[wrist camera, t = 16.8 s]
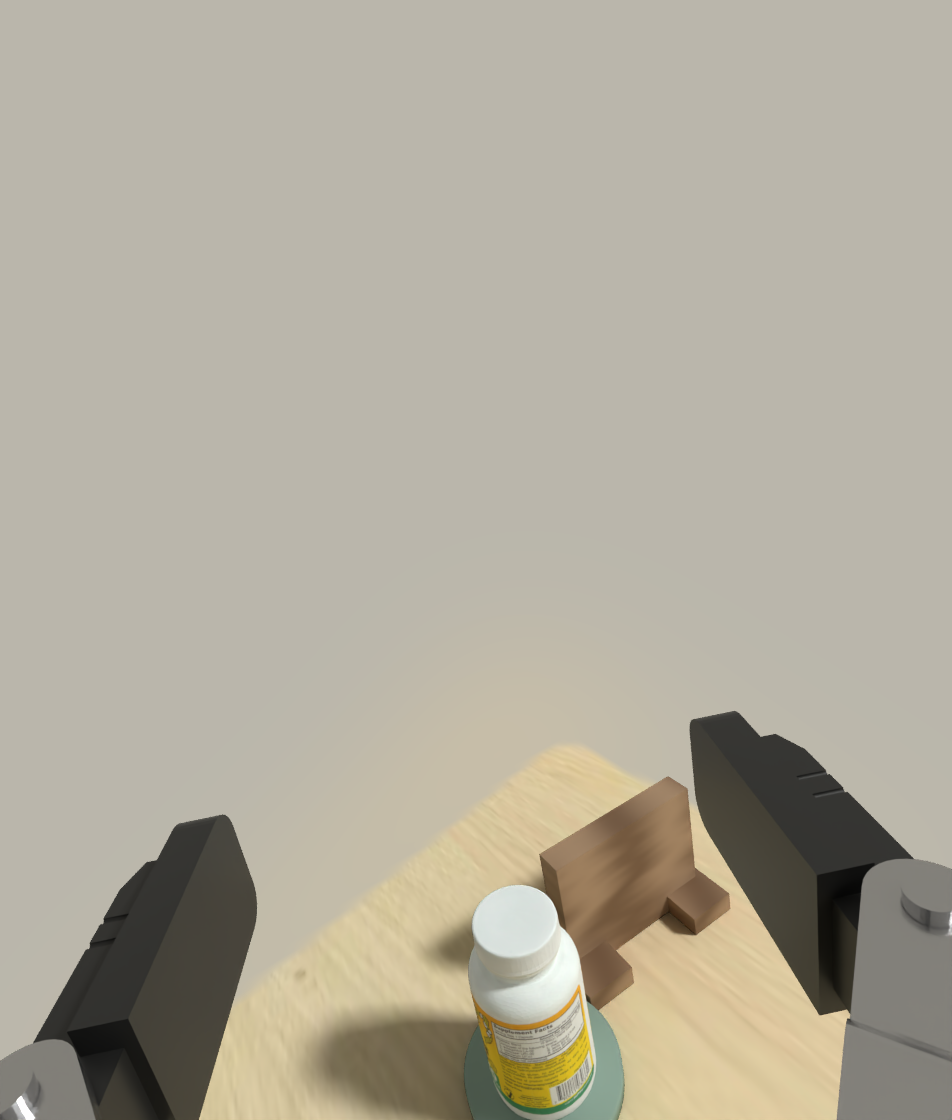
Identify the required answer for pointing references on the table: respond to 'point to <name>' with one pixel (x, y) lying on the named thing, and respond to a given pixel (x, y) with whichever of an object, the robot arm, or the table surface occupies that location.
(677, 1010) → the table surface
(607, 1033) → the pad
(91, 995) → the robot arm
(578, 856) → the divider
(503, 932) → the supplement bottle
